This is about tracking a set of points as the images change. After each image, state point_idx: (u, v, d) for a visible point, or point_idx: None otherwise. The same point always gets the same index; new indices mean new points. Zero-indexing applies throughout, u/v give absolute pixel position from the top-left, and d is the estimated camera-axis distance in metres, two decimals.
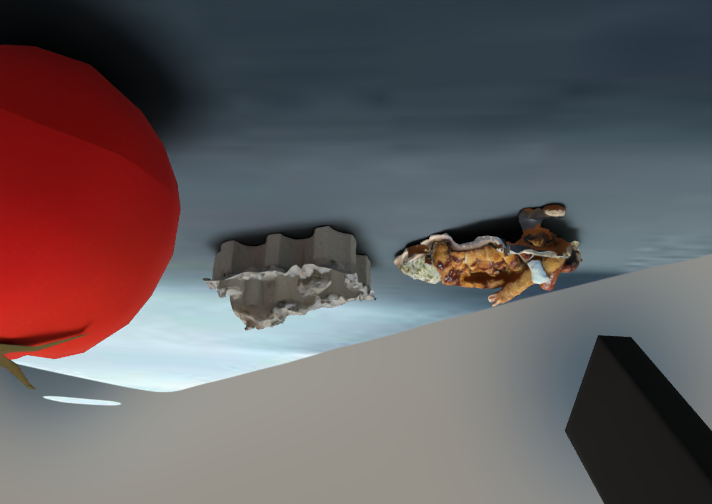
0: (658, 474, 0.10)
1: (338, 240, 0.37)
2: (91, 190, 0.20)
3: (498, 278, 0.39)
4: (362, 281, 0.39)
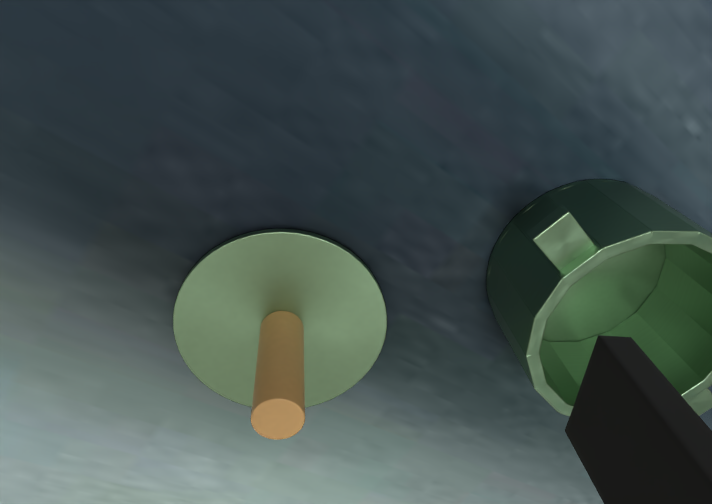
0: (658, 474, 0.10)
1: None
2: None
3: None
4: None
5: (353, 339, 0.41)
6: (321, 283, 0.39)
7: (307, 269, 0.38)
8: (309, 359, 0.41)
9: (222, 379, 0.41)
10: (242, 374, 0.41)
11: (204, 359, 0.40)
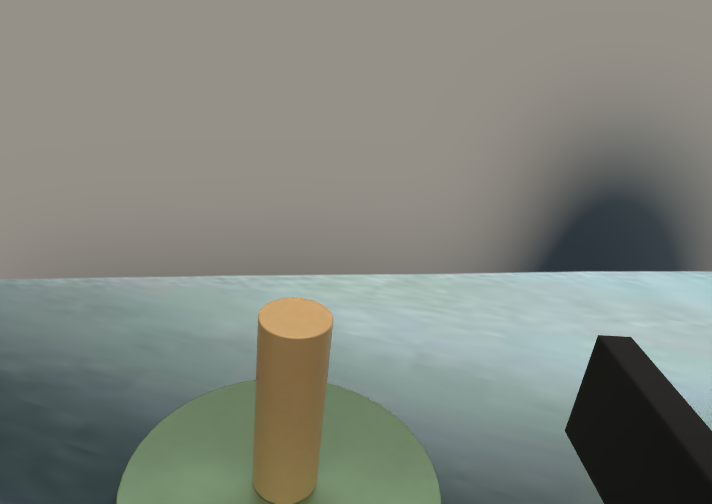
0: (658, 474, 0.10)
1: None
2: None
3: None
4: None
5: (173, 471, 0.27)
6: None
7: None
8: (240, 439, 0.29)
9: (355, 409, 0.32)
10: (330, 415, 0.31)
11: (383, 431, 0.30)
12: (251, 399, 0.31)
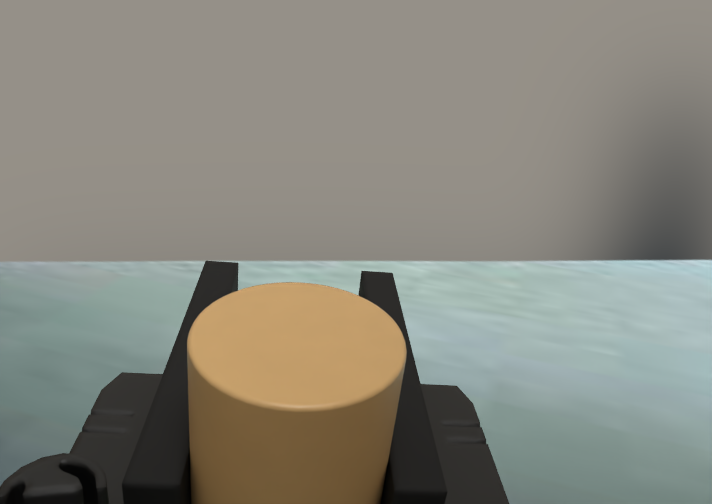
0: None
1: None
2: None
3: None
4: None
5: None
6: None
7: None
8: None
9: None
10: None
11: None
12: None
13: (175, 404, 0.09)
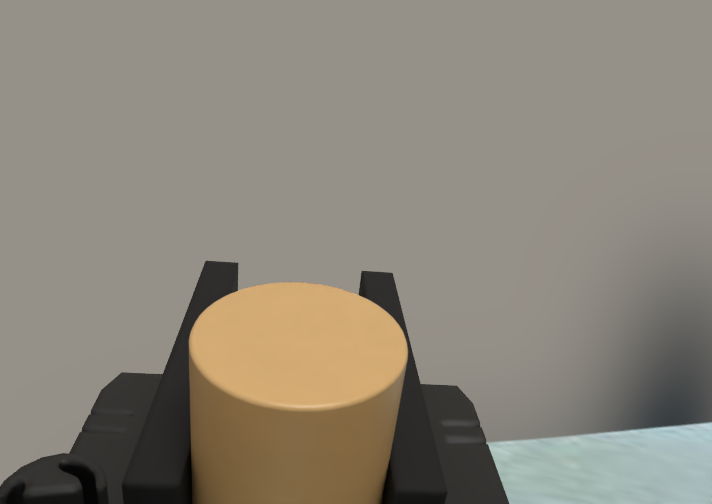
0: None
1: None
2: None
3: None
4: None
5: None
6: None
7: None
8: None
9: None
10: None
11: None
12: None
13: (175, 404, 0.09)
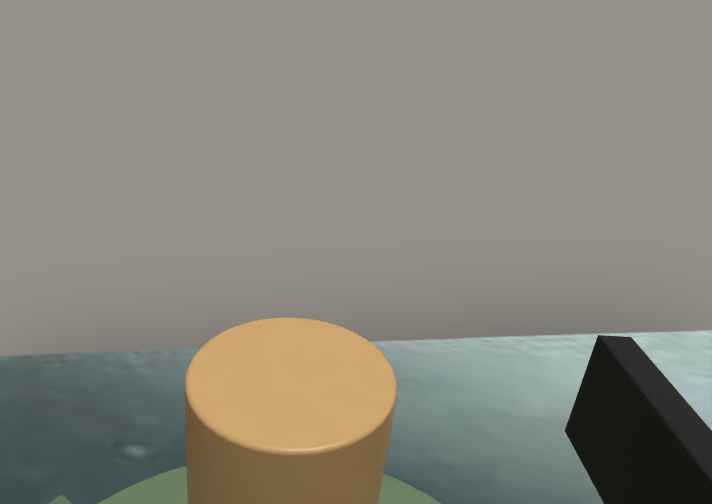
0: (658, 474, 0.10)
1: None
2: None
3: None
4: None
5: None
6: None
7: None
8: None
9: None
10: None
11: None
12: None
13: None
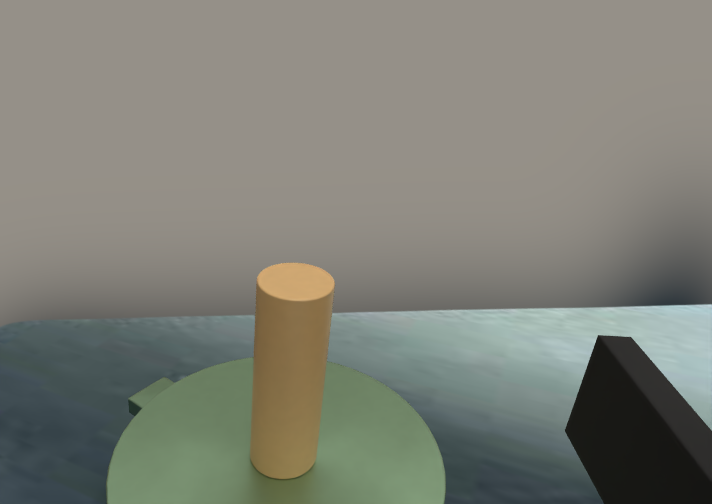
0: (658, 474, 0.10)
1: None
2: None
3: None
4: None
5: (168, 445, 0.26)
6: None
7: None
8: (238, 415, 0.28)
9: (356, 386, 0.31)
10: (330, 392, 0.30)
11: (385, 408, 0.29)
12: (249, 376, 0.31)
13: None
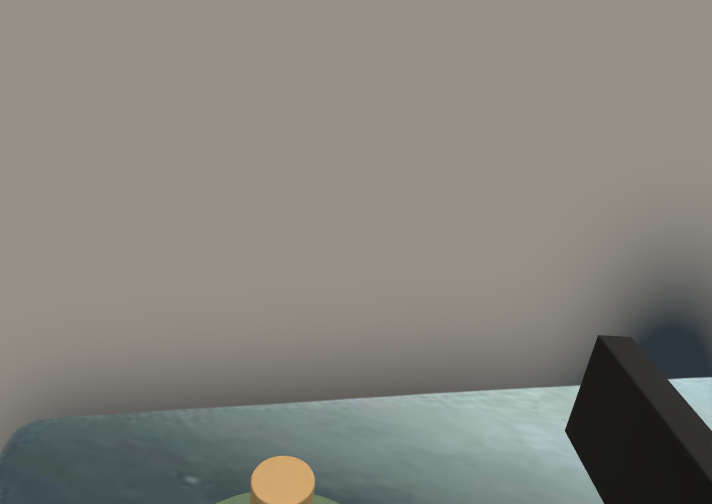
0: (658, 474, 0.10)
1: None
2: None
3: None
4: None
5: None
6: None
7: None
8: None
9: None
10: None
11: None
12: None
13: None
